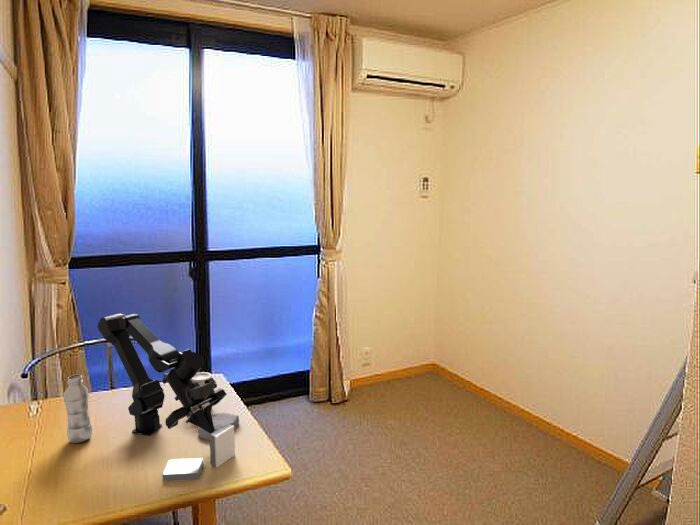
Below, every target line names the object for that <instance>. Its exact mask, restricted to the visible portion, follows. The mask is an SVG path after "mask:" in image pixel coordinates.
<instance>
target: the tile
mask: <svg viewBox="0 0 700 525" xmlns="http://www.w3.org/2000/svg"><path fill="white" fill-rule="evenodd" d="M209 452H210V453H209V455H210V466H213V467H215V468H218V467H220V466H221V465H222V464H224V463H226V462H227V461H228V459H229V460H230V459H231V457H232V458H233V457H234V455H235V456H236V444H235V428H234V426H233V425H230V424H226V425H225V426H223V427H221V428H220V429H218V430H216V431H215V432H213V433H211V434H210V439H209Z"/></svg>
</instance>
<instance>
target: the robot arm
mask: <svg viewBox="0 0 700 525" xmlns="http://www.w3.org/2000/svg"><path fill="white" fill-rule="evenodd" d="M97 329H98V331H99V333H100V334H101V335H102V337H103V339H104V340H105V341H107V342H108V343H110V344H111V345H113V348H114V349H115V350H116V351H115V352H116V353H117V355H118V357H119V360H120V361H121V364H122V365H123V367H124V370H125V371H126V373H127V376H128V377H129V378H128V379H129V380H130V382H131V385H132V392H131V397H132V401H133V402H131V404H130V405H129V406H128V408H127V409H128V410H127V411H128V413H129V415H130V416H133V417H134V426H135V428H134V429H132V431H131V433H133V434H138V435H139V434H140V435H144V436H151V435H152V434H154V433H155V432H156V431H157V430H159V429H160V428H162V427H163V424H162V423H160V422H161V421H160V415H159V409H161V408H163V406H164V402H165V397H166V395H165V392H164V389H163V387H162V385H161V383H160V381H159V380H158V379H154V380H153V379H152V378H150V377H149V375H148V373H147V370H146V369H145V367H144V365H143V362H142V360H141V358H140V356H139V353H138V352H137V350H136V348H135V346H134V344H133V342H132V340H131V338H130V337H132V338H133V339H134V341H135V342H137V344H138V346H140V347H141V348H142V349H143V350H144V352H146V354H147V355H148V362H149V364H150V365H151V366H152V368H153V369H154V370H155V371H156V372H157V373H164V372H167V371H169V370H170V371H169V372H167V373H164V374H163V379H162V384H163V385H165V384H168V385H169V387H170V388H171V389H172V391H173V393H174V394H175V397H174V400H175V401H176V402H177V401H179V402H180V404H181V407H179V408H177V409H174V410H173V411H172V412H171V413H170V414H169V415H168V416H167V417H166V418H165V421H164V422H165V426H166V427H167V429H168V430H171V429H172V428H174V427H176V426H178V424H179V420H181V419H184V418H185V417H186V418H187V419H186V421H185V423H186V424H188V423H189V424H192V425H194V426H197V428H199V427H200V428H202V429H203V430H205V431H207V432H209V433H210V434H211V433H213V432H215V429H214V425H213V420H212V415H213V414H212V410H213V407H214V406H216V405H218V404H219V403H220V402H221V401H222V400H223V399H224V398H225V397H226V396H227V395H228V394H227V392H226V391H225V390H224V388H221V387H220V388H218V389H217V387H218V384H217V382H216V379H215V380H214V379H213V378H209V379H207V380H205V384H203V385H201V386H200V385H199V384H198V383H197V382H196V383H193V381H192V380H191V379H192V378H193V377H194V376H195V375H196V374H197V373H199V372H200V370H201V369H203V367H204V366H205V359H204V357H203V356H202V355H201V354H199V353H198V352H195V351H192V349H190V348H188V349H186V350H184V351H183V352H180V351H179V350H178V349H177V348H175V347H174V346H173V345H171V344H170V343H166V342H164V341H161V340H160V338H158V337H157V335H156V334H155V333H154V332H152V331H151V330H150V329H149V327H147V324H145V323H144V322H143V321H142V320H141V319H140V315H138V313H131V314H123V313H121V312H120V313H115V314H111V315H108V316H103V317H101V318H100V319H99V321H98V323H97ZM208 395H209V396H208ZM207 396H208V397H207ZM206 397H207V398H206ZM204 398H206V399H205V400H204ZM200 405H201V406H200ZM211 409H212V410H211Z"/></svg>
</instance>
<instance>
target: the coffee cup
mask: <svg viewBox="0 0 700 525" xmlns="http://www.w3.org/2000/svg"><path fill="white" fill-rule="evenodd" d="M209 378H213V379H214V380H215V381H216V378H215V377H213V375H212V373H210V372H208V371H207V372H205V371H202V372H200V371H199V372H198V373H197V374H196V375H195V376H194V377H193V378H192V379H191V380H192V381H193V383H196V382H197V383H198V384H199V385H200V386H201V385H203V384H205V380H207V379H209ZM208 396H209V395H208ZM208 396H207V397H208ZM207 397H206V398H207ZM206 398H204V400H205V399H206ZM200 406H201V405H200ZM212 410H213V408H212V409H211V411H212Z"/></svg>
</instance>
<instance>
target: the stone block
mask: <svg viewBox="0 0 700 525" xmlns="http://www.w3.org/2000/svg"><path fill="white" fill-rule="evenodd" d="M211 415H212V420H213V425H214V429H215V431H216V430H218V429H220V428H221V427H223V426H225V425H226V424H230V425H233V426H234V429H235V427H237V426H239V423H240V417H239V415H238V414H237V415H236V414H234V413H227V412H219V413H214V414H211ZM197 434H198V436H199V438H200V439H205V440H210V433H209V432H207V431H205V430H203V429H202V428H200V427H197Z"/></svg>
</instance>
